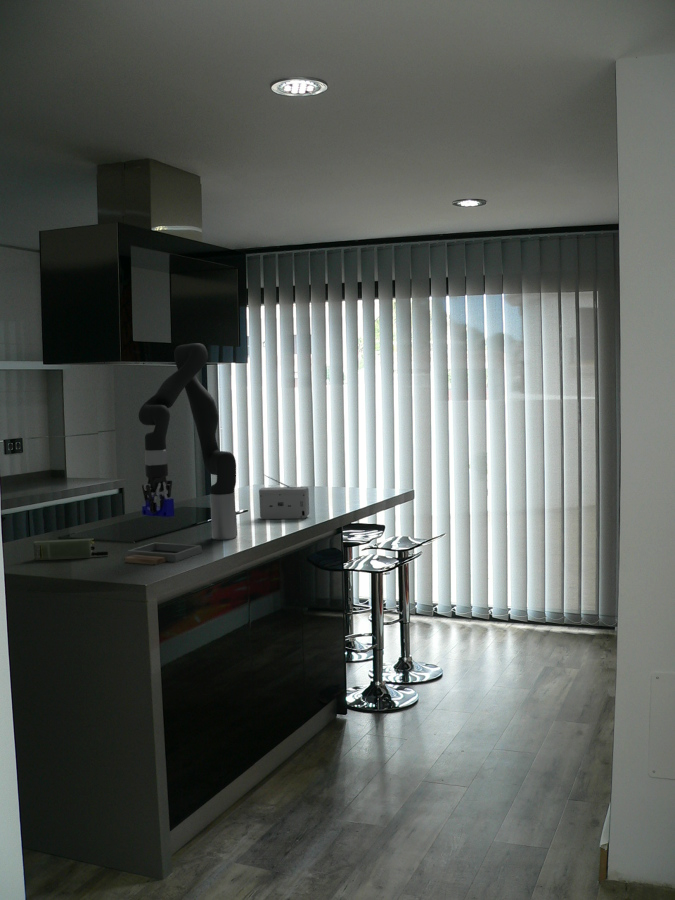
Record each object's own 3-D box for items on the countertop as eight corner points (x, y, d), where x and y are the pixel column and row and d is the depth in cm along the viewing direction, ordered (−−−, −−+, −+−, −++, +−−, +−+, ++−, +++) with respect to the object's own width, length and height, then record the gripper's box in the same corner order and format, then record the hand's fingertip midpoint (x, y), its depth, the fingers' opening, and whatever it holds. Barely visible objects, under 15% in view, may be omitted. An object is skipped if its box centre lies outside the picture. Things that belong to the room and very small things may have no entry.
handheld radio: (36, 559, 299) (109, 555, 301) (34, 561, 296) (107, 558, 297) (35, 540, 298) (107, 537, 300) (32, 542, 295) (106, 539, 297)
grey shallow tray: (155, 549, 308) (154, 542, 308) (201, 552, 300) (201, 545, 299) (127, 557, 295) (127, 550, 295) (175, 561, 286) (175, 554, 286)
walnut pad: (134, 559, 293) (134, 554, 292) (165, 561, 287) (165, 557, 287) (125, 562, 288) (124, 557, 288) (156, 564, 282) (155, 560, 282)
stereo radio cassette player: (309, 516, 370) (308, 470, 368) (307, 519, 361) (305, 472, 360) (262, 517, 372) (260, 471, 370) (258, 520, 364) (256, 473, 362)
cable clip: (142, 514, 296) (141, 497, 296) (153, 513, 300) (152, 496, 299) (163, 517, 288) (162, 500, 288) (174, 516, 292) (173, 498, 291)
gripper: (160, 460, 301) (162, 508, 302) (134, 464, 288) (136, 514, 289) (177, 461, 297) (180, 509, 299) (151, 465, 284) (154, 515, 286)
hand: (158, 511), depth 294 cm, fingers closed on cable clip, 4 cm apart
